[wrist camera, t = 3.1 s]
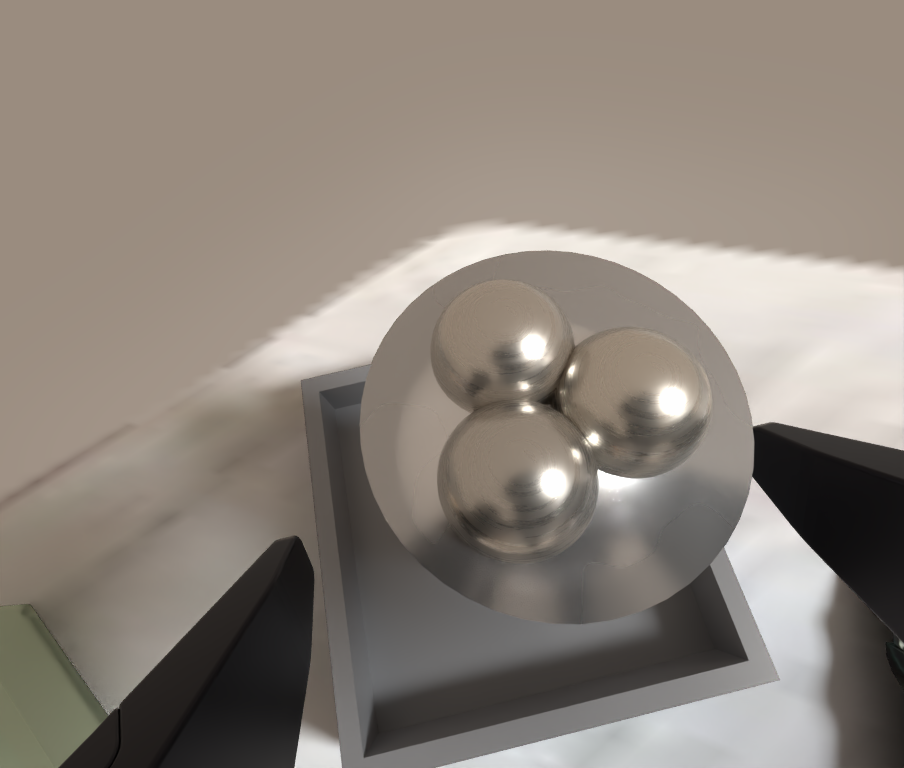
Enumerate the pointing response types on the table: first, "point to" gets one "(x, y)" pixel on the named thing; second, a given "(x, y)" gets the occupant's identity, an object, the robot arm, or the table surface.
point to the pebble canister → (557, 437)
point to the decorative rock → (896, 658)
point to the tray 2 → (488, 633)
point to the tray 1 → (39, 695)
